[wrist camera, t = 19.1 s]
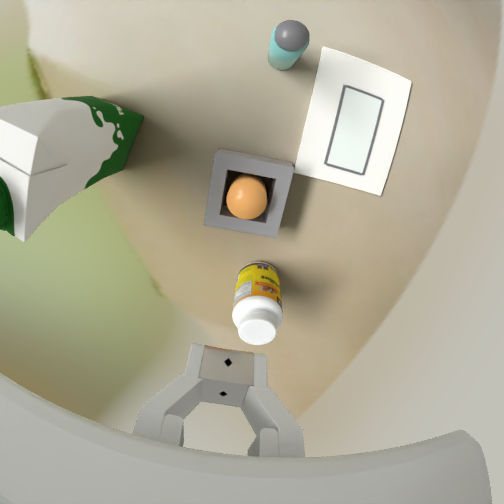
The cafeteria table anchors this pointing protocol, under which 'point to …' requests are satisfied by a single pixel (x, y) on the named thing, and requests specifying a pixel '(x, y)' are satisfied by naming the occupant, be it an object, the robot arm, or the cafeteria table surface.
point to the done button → (247, 196)
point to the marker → (287, 44)
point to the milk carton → (57, 154)
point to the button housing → (249, 164)
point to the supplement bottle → (257, 303)
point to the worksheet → (352, 122)
